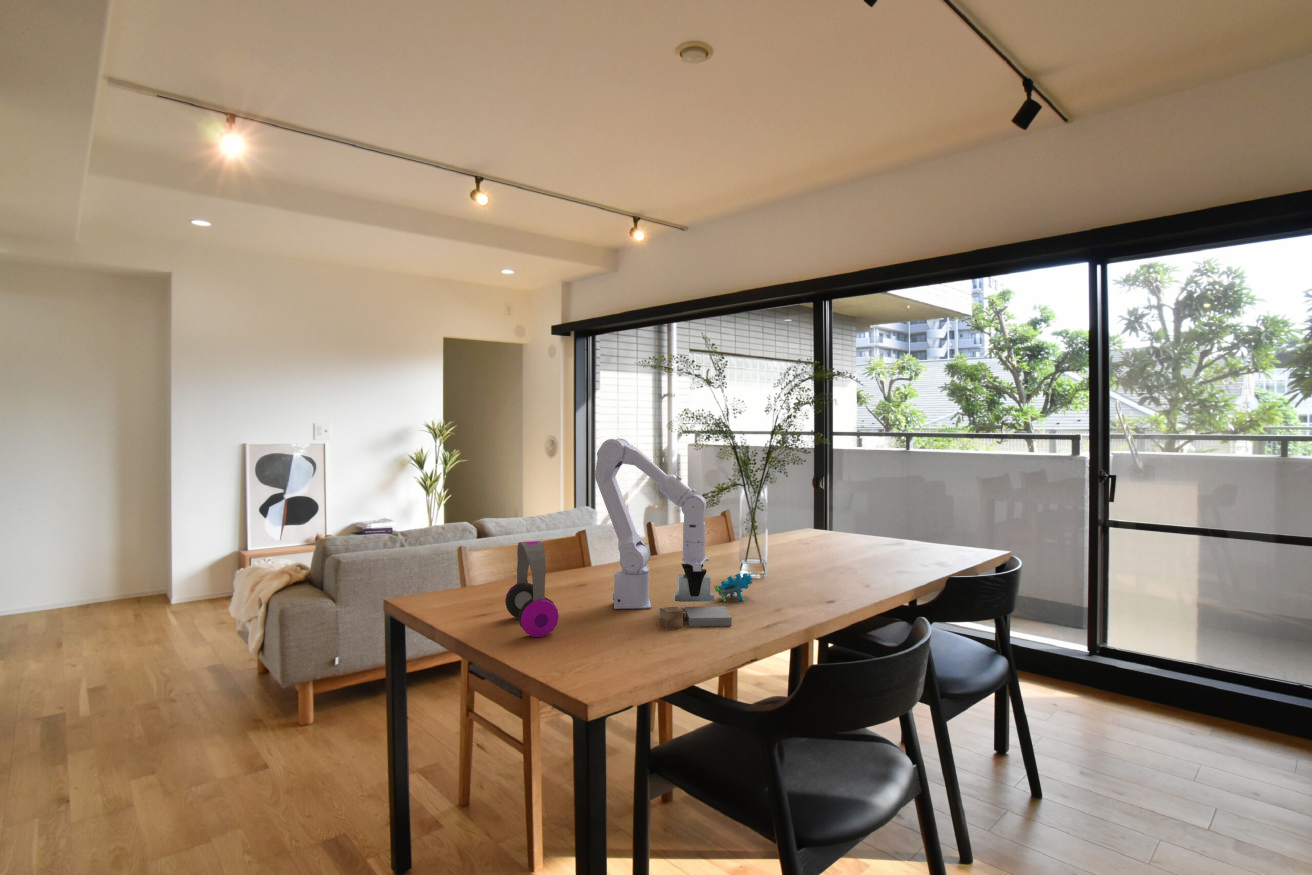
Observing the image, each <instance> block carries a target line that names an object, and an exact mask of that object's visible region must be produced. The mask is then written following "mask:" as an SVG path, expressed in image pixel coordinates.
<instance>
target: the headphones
mask: <svg viewBox="0 0 1312 875" xmlns="http://www.w3.org/2000/svg"><path fill="white" fill-rule="evenodd" d="M516 550H517V551H516V553H517V563H516V564H517V565H516V583H515V584H513V585H512V586H511V587H510V588H509V590H508V591H507V593H506V595H505V599H504V602H505V606H506V607H505V608H506V610H507V611H508V612H509V614H510V615H511V616H512V617H514V618H516V619H518V621H519V622H518V623H519V626H520V628H521V629H522V630H523V632H524V633H526V634H527V635H529V636H530V637H532V638H533V637H534V638H543V637H546V636H548V635H550V633H552V632H553V631H554V630H555V628H556V627H557V626H558V624H559V623H558V622H559V618H560V615H559V610H558V608H557V606H556V604H555V603H554V602H553V600H551V599H550V598H548V597H546V594H545V592H546V574H547V573H546V569H547V568H546V552H545V547H544V545H543V542H542V541H541V540H533V541H532V540H531V541H518V543H517V549H516ZM529 568H530V570H531V579H532V580H531V581H532V583H530V582H529V581H528V574H529Z"/></svg>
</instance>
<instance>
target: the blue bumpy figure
mask: <svg viewBox="0 0 1312 875" xmlns="http://www.w3.org/2000/svg"><path fill="white" fill-rule="evenodd" d="M734 576H735V578H734V577H733V576H731V575H730V576H729V577H727V580H722V581H721V582H720V584H721V585H720V584H719V585H715V586H714V587H713V588H714V590H715V592H716V593H718V596H721V599H722V600H723V602H724V603H727V598H726V597H727V596H728V595H729V596H730V597H731V596H735V594H736V595H737V597H738V600H739V602H743V601H744V598H743V596H742V592H743V590H747V589H749V585H752V584H753V581H752V580H753V576H752V575H748V573H746V572H745V573H742V575H741V573H736V574H735V575H734Z"/></svg>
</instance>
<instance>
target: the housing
mask: <svg viewBox="0 0 1312 875" xmlns="http://www.w3.org/2000/svg"><path fill="white" fill-rule="evenodd" d="M676 587H677V591H674V592H673V600H674V602H682V603H683V602H684V603H685V602H686V603H687V602H690V603H691V602H693V603H694V602H695V603H697V602H698V603H699V602H700V603H701V602H715V594H714V593H713V592H712V591H711V577H710V575H709V574H707V573H706V574H705V576H704V578H703V581H702V585H701V590H700V594H699V596H691V595H690V591H689V583H688V579H687V575H686V574H685V573H684V574H677V586H676Z"/></svg>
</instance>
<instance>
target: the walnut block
mask: <svg viewBox="0 0 1312 875" xmlns="http://www.w3.org/2000/svg"><path fill="white" fill-rule="evenodd" d="M660 608H661V620H660V624H661V626H662V627H664V628H665V629H667V630H668V629H679V628H681V627H682V628H683V627H684V620H683V612H684V610H683V609H681V608H680V607H678V606H677V605H676V606H666V607H665V606H664V607H660Z"/></svg>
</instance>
